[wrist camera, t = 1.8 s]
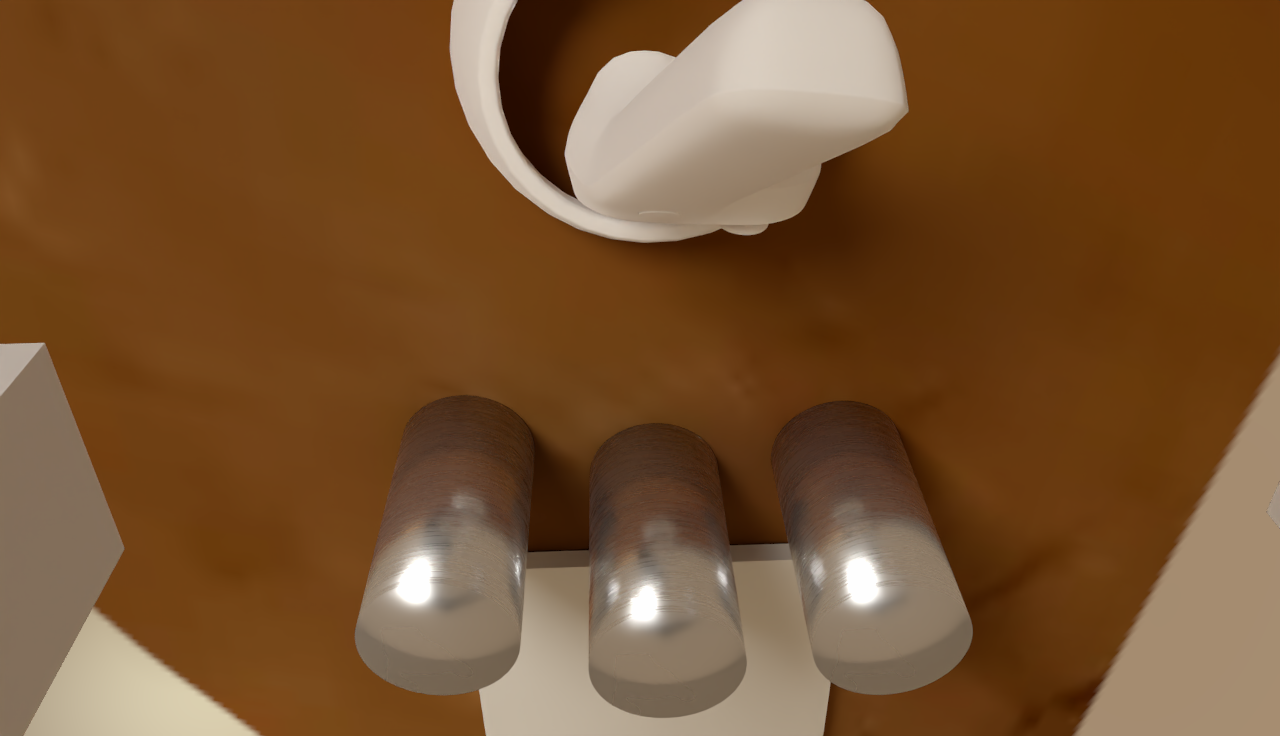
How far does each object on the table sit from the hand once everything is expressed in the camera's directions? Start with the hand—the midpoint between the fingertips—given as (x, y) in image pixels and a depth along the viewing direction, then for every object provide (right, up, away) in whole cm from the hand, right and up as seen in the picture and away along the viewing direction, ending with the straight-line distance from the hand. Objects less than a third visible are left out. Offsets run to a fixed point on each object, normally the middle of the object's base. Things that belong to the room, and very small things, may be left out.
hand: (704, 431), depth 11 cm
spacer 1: (-5, -1, +14) cm, 15 cm away
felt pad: (0, -8, +19) cm, 21 cm away
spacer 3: (+4, -1, +15) cm, 15 cm away
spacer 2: (0, -2, +15) cm, 15 cm away
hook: (0, +7, +9) cm, 12 cm away
